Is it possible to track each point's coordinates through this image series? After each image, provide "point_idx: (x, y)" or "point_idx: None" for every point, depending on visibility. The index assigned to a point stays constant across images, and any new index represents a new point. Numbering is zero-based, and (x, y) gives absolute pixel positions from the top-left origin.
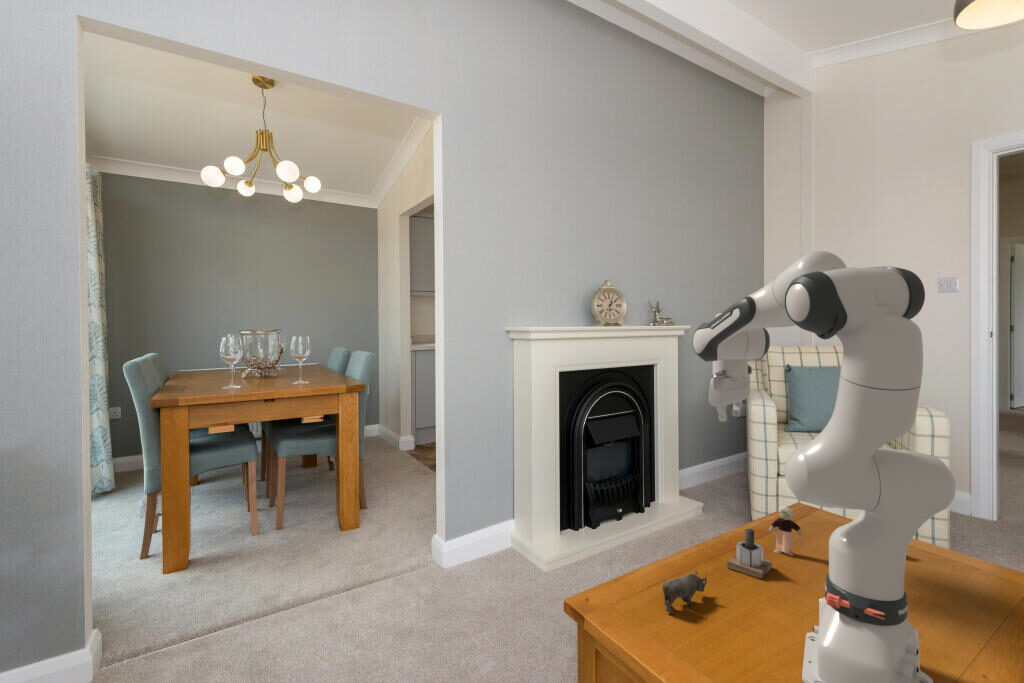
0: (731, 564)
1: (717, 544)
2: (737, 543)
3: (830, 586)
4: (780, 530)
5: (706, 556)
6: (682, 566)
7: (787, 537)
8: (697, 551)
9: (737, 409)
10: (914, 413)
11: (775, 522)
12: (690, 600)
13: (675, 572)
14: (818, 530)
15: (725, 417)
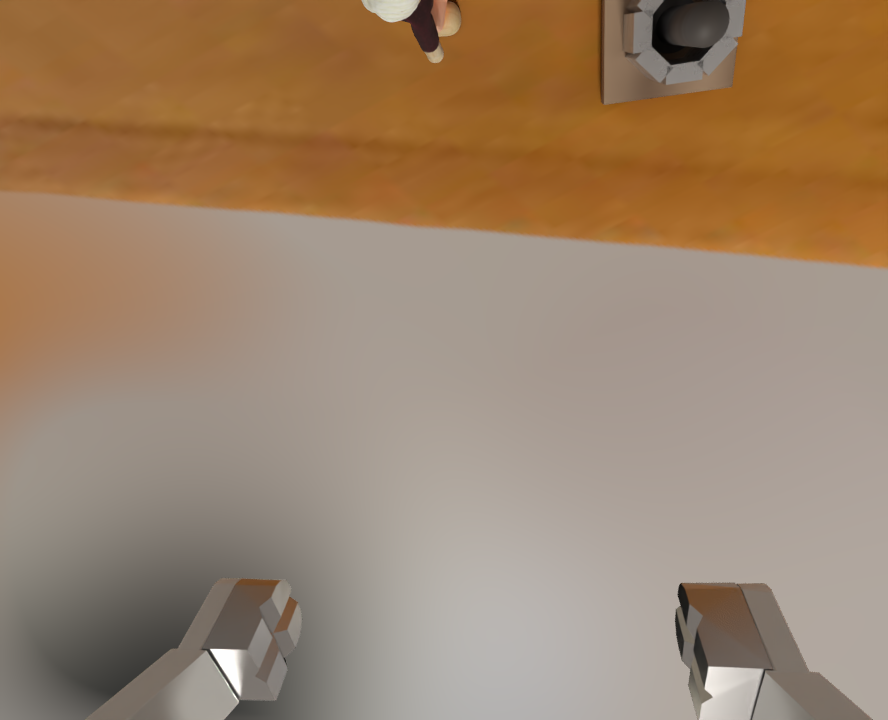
0: (732, 69)
1: (543, 213)
2: (693, 78)
3: None
4: (433, 4)
5: (669, 188)
6: (806, 202)
7: None
8: (650, 229)
9: (210, 673)
10: None
11: (432, 28)
12: None
13: (871, 194)
14: (107, 14)
15: (787, 633)
